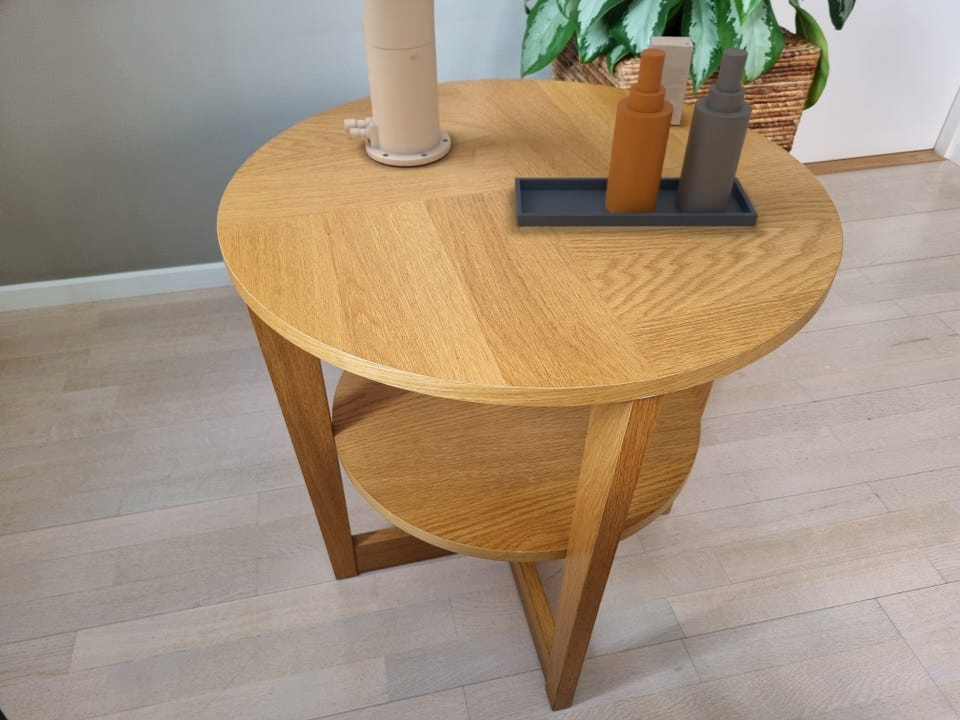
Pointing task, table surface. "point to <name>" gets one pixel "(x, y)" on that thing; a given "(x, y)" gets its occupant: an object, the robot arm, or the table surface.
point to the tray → (587, 208)
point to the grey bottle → (715, 140)
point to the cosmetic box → (675, 70)
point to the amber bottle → (640, 140)
